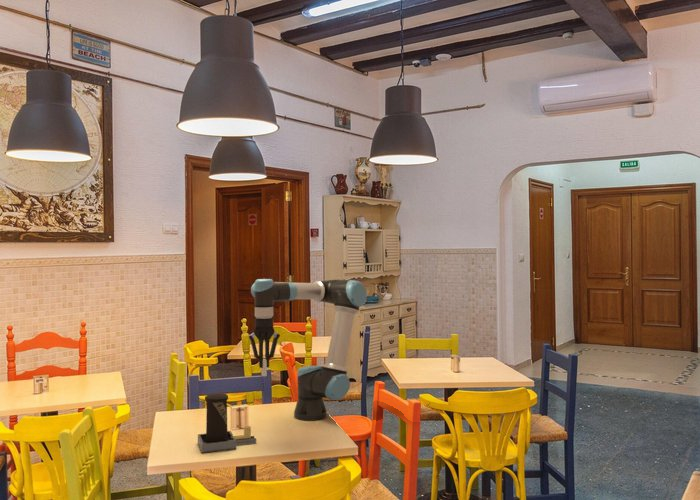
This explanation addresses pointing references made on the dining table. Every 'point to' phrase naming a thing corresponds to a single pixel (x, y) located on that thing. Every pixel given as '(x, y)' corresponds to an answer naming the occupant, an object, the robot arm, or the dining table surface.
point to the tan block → (246, 434)
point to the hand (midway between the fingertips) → (264, 375)
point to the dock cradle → (216, 444)
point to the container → (216, 417)
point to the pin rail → (246, 441)
